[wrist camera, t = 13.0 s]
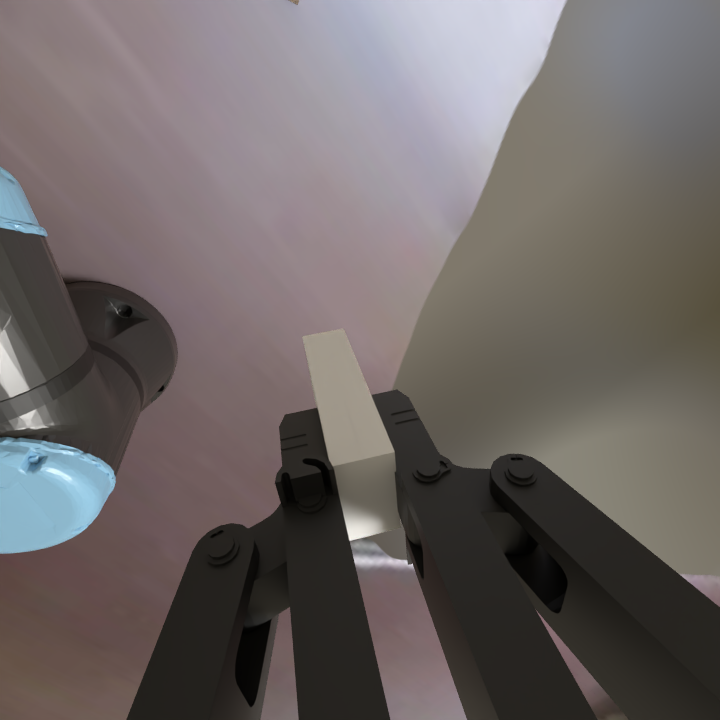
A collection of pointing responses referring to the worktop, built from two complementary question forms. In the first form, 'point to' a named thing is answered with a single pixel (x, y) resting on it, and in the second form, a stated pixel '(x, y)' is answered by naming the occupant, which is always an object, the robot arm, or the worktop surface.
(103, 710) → the worktop surface
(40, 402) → the robot arm
